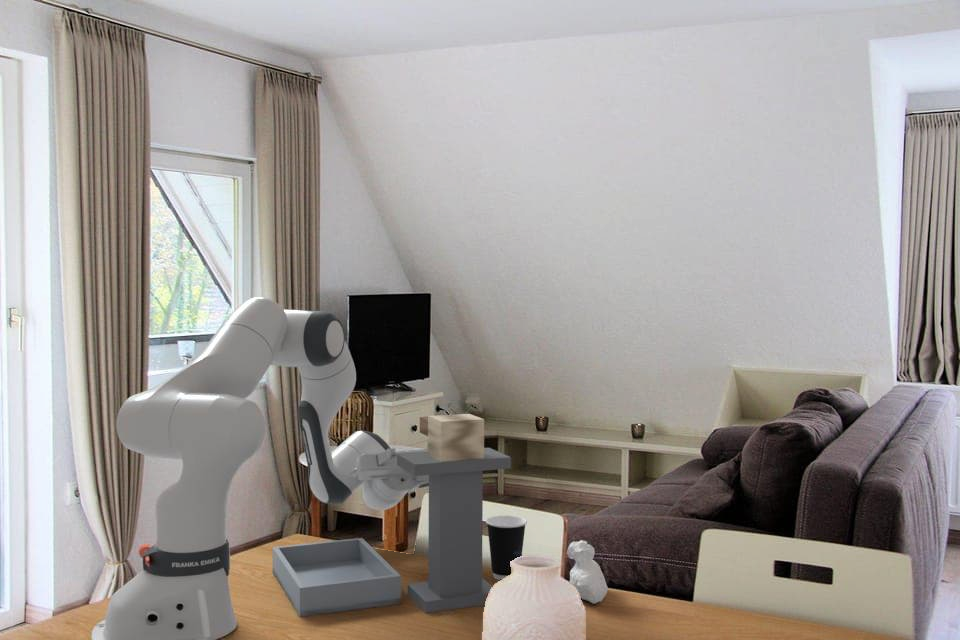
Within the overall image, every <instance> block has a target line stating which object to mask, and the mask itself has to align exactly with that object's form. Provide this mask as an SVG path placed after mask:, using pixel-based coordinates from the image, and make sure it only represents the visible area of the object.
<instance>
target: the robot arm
mask: <svg viewBox="0 0 960 640" xmlns="http://www.w3.org/2000/svg"><path fill="white" fill-rule="evenodd" d="M345 335H346V334H345V330H344V326H343V323H342V322H341V320H339V318H338V317H337V316H336V315H335V314H334V313H331V312H327V311H324V310H323V311H322V310H315V311H313V310H303V309H290V308H287V309H286V308H283V307H282V306H281V305H280V304H279V303H278V302H276V301H274V300H273V299H271V298H268V297H263V296H255V297H252V298H249V299H247V300H246V301H244V302H243V303H242V304H240V305H239V306H238V307H237V308H236V309H235V310H233V312H232V313H231V314H229V315H228V317H227V318H226V319H225V320H224V321H223V322H222V324H221V325H220V326H219V328H217V330H216V331H215V333H214V335H213V336H212V337H211V339H210V340H209V341H208V342H207V344H206V345H205V346H204V347H203V348H202V350H200V352H199V354H198V355H197V356H196V357H195V358H194V359H193V360H191V361H190V363H188V364H187V365H185V366H184V367H183V368H182V369H180V370H179V371H177V372H176V373H174V374H173V375H171V376H170V377H169V378H167V379H165V380H164V381H163V382H161V383H159V384H158V385H155V386H153V387H152V388H149V389H147V390H144V391H141V392H139V393H136V394H133V395H131V396H130V397H128V398H127V399H126V400H125V401H124V402H123V404H121V405H122V406H121V407H120V409H119V410H118V414H117V417H116V433H117V436H118V439H119V441H120V443H121V444H122V446H123V447H125V448H126V449H127V450H130V451H132V452H136V453H137V454H141V455H144V456H147V457H150V458H157V459H158V458H159V459H170V460H171V459H174V460H182V469H181V474H180V476H179V479H178V481H176V482H174V483H172V484H171V485H170V486H168V487H166V488H165V489H164V490H163V491H162V492H161V493H160V494H159V496H158V497H157V500H156V502H155V544H153V545H152V546H151V544H148V543H142V544H141V545H140V547H138V555H139V556H140V558H142V570H141V571H140V572H138V574H136V575H135V576H134V577H133V578H131V579H130V580H128V581H127V582H126V583H125V584H124V585H122V586H121V587H120V588H119V589H117V590H116V591H115V592H114V594H113V595H112V596H111V598H110V601H109V603H108V605H107V608H106V609H107V610H106V614H105V619H103V620H102V621H99V622H98V623H96V625H95V626H94V627H93V628H92V630H91V636H90V640H218V639H220V638H223V637H224V636H226V635H229V634H231V633H232V632H233V631H234V630H235V629H236V628H237V626H238V620H237V619H236V614H235V612H234V607H233V603H232V598H231V592H230V585H229V584H230V583H229V575H230V569H231V548H230V542H229V541H228V540H229V539H227V519H228V501H229V494H230V490H231V486H232V484H233V481H234V480H235V479H234V478H235V476H236V475H237V473H238V471H239V470H240V469H241V467H242V466H243V465H244V464H245V463H247V461H249V459H252V457H254V456H255V455H256V453H258V452H259V449H260V448H261V446H262V445H263V441H265V435H266V421H265V417H264V414H263V411H262V410H261V408H260V406H259V405H258V404H257V403H255V402H254V401H252V400H249V399H247V398H248V397H249V396H250V395H252V394H253V392H254V391H255V389H256V388H257V386H258V385H259V384H260V382H261V381H262V378H263V377H264V375H265V374H266V372H267V371H268V369H269V368H270V366H275V367H276V366H277V367H286V368H297V369H298V372H299V374H300V378H301V397H300V398H301V400H300V402H299V404H298V408H297V418H298V423H299V428H300V429H299V430H300V433H301V434H300V435H301V439H302V445H303V449H304V455H305V458H306V463H307V481H308V486H309V489H310V491H311V492H312V494H313V496H314V497H315V498H316V499H317V500H318V501H319V502H320V503H323V504H325V505H342V504H344V503H345V502H346V501H347V499H349V497H350V496H351V495H353V493H354V491H356V490H357V489H358V488H359V487H360V486H362V499H363V502H364V503H365V505H366V506H368V507H369V508H370V509H372V510H376V511H386V510H389V509H392V508H393V507H395V506H396V505H398V504H399V502H401V501H402V499H403V498H404V497H405V496H406V494H407V493H411V492H413V491H415V490H418V489H422V488H426V487H427V488H428V487H429V475H422V476H414V475H412V474H411V473H409V472H407V471H406V470H404V469H403V468H401V467H399V466H398V465H397V454H405V453H420V452H428V449H418V450H417V449H416V450H402V451H401V450H396V448H395V447H394V448H393V447H390V445H389V444H388V443H387V442H386V441H385V440H384V439H383V438H382V437H381V436H380V435H379V434H377V433H375V432H371V431H368V430H356V431H355V432H354V433H352V434H351V435H350V436H348V437H347V438H346V439H345V440H344V441H342V443H340V444H339V445H338V446H337V447H336V448H335V449H333V450H331V443H330V439H329V432H330V427H331V424H332V422H333V421H334V419H335V418H336V415H337V414H338V412H339V411H340V409H341V408H342V407H343V405H344V404H345V403H346V401H347V400H348V399H349V398H350V397H351V395H352V393H353V391H354V390H355V386H356V382H357V371H356V367H355V363H354V359H353V357H352V354H351V351H350V349H349V346H348V344H347V342H346V340H345V339H346V338H345Z"/></svg>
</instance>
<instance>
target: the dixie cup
mask: <svg viewBox="0 0 960 640" xmlns="http://www.w3.org/2000/svg"><path fill="white" fill-rule="evenodd" d="M485 524H486V525H487V532H488V533H487V534H488V542H489V545H488V546H489V553H490V554H489V555H490V564H491V572H492V573H493V578H494V579H495V580H499V581H501V580H500V579H503V578H505V577H506V576H508V575H510V574H511V567H510V561H512V560H514V559H515V558H517V557H520V556H523V550H524V549H523V548H524V538H525V531H526V525H527V524H528V520H527V519H525V518H523V517H521V516H517V515H495V516H491V517H488V518H487V519H486V520H485ZM502 524H505V525H502Z"/></svg>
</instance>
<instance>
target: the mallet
mask: <svg viewBox="0 0 960 640" xmlns="http://www.w3.org/2000/svg"><path fill="white" fill-rule="evenodd" d="M419 433H420V434H422V435H424V436H426V437H427V450H428V455H429V456H431V457H433V458H435V459H437V460H439V461H441V462H446V461H460V460H473V459H484V448H485V419H484V418H482V417H479V416H476V415H473V414H471V413H459V414H456V413H455V414H442V415H441V414H439V415H428V416H419Z"/></svg>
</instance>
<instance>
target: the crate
mask: <svg viewBox="0 0 960 640" xmlns="http://www.w3.org/2000/svg"><path fill="white" fill-rule="evenodd" d="M272 573H273V576H274V577H275V579H276V580H277V582H278V584H279V586H281V588H282V590H283V592H284V593H285V595H286V597H287V598H288V600H289V602H290V603H291V605H292V607H293V608H294V610H295V612H296V613H297V615H298V617H299V618H301V617H309V616H317V615H326V614H332V613H339V612H340V613H341V612H348V611H353V610H354V611H355V610H362V609H363V610H364V609H370V608H378V607H379V608H380V607H384V606H391V605H400V604H402V575H401V574H400V573H399V572H398V571H397V570H396V569H394V568H393V566H391V564H389V563H388V562H387V561H386V559H384V558H383V557H382V556H381V555H380V554H379V553H378V551H376V550H375V548H373V547H372V546H371V545H370V544H369V543H368V542H367V541H366V540H365V539H364V538H363V537H357V538H356V537H355V538H350V539H349V538H348V539H340V540H328V541H327V540H326V541H319V542H309V543H297V544H291V545H290V544H289V545H279V546H272Z"/></svg>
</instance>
